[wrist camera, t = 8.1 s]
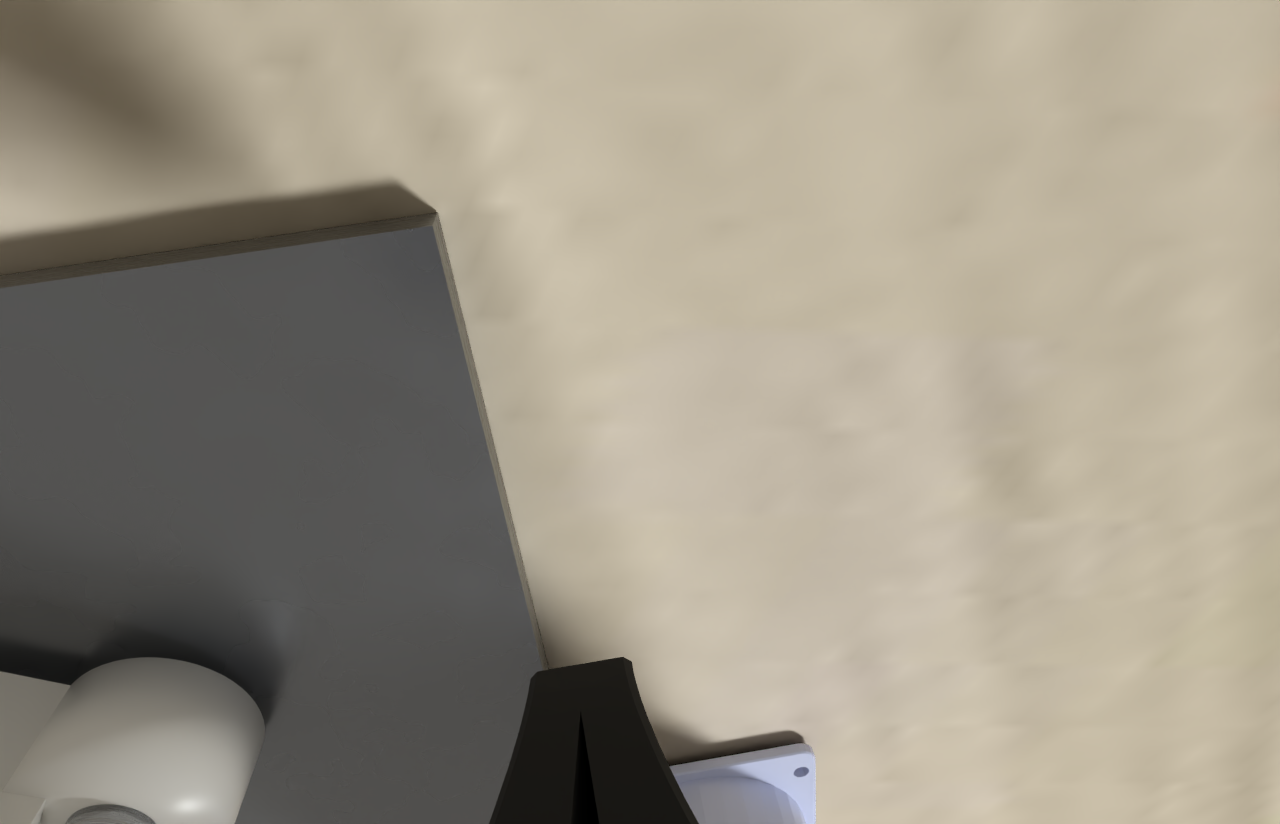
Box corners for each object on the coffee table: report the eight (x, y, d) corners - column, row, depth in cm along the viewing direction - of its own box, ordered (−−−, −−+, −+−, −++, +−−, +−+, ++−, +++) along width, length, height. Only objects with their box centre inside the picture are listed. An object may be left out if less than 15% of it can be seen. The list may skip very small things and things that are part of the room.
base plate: (579, 795, 27) (585, 903, 24) (-26, 903, 26) (-103, 1030, 23) (438, 212, 17) (415, 267, 14) (-549, 354, 16) (-810, 448, 13)
